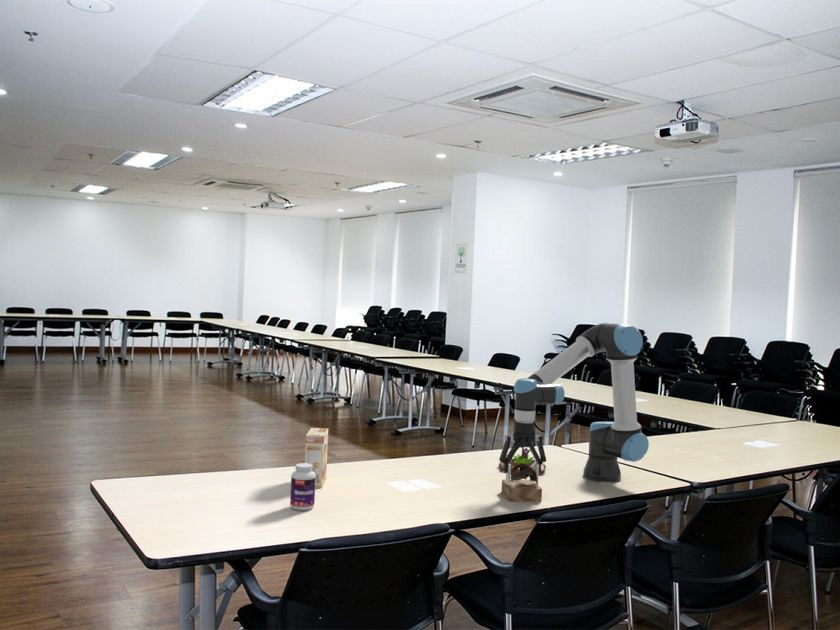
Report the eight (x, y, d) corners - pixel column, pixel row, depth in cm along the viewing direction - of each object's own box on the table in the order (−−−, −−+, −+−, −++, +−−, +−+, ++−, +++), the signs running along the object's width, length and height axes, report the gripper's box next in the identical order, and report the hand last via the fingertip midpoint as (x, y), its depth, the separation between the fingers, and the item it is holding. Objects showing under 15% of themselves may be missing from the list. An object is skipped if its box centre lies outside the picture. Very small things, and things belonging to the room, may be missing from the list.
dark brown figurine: (541, 488, 257) (532, 469, 255) (516, 497, 259) (507, 478, 257) (538, 471, 269) (529, 453, 267) (515, 480, 270) (506, 462, 268)
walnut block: (532, 493, 270) (533, 480, 270) (541, 502, 258) (542, 488, 258) (501, 492, 269) (502, 479, 269) (508, 502, 257) (509, 488, 257)
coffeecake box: (322, 488, 264) (324, 435, 263) (302, 487, 264) (304, 434, 263) (327, 477, 279) (329, 427, 278) (308, 477, 278) (310, 427, 278)
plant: (501, 462, 318) (502, 437, 317) (546, 466, 313) (547, 441, 313) (496, 473, 298) (497, 446, 298) (543, 478, 294) (545, 450, 293)
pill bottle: (291, 512, 234) (292, 468, 234) (288, 504, 242) (290, 462, 242) (316, 511, 237) (317, 467, 236) (312, 503, 244) (314, 461, 244)
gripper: (549, 419, 269) (546, 477, 270) (491, 419, 264) (489, 479, 264) (557, 423, 262) (554, 483, 262) (498, 423, 256) (495, 484, 257)
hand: (521, 481), depth 263 cm, fingers closed on dark brown figurine, 10 cm apart
